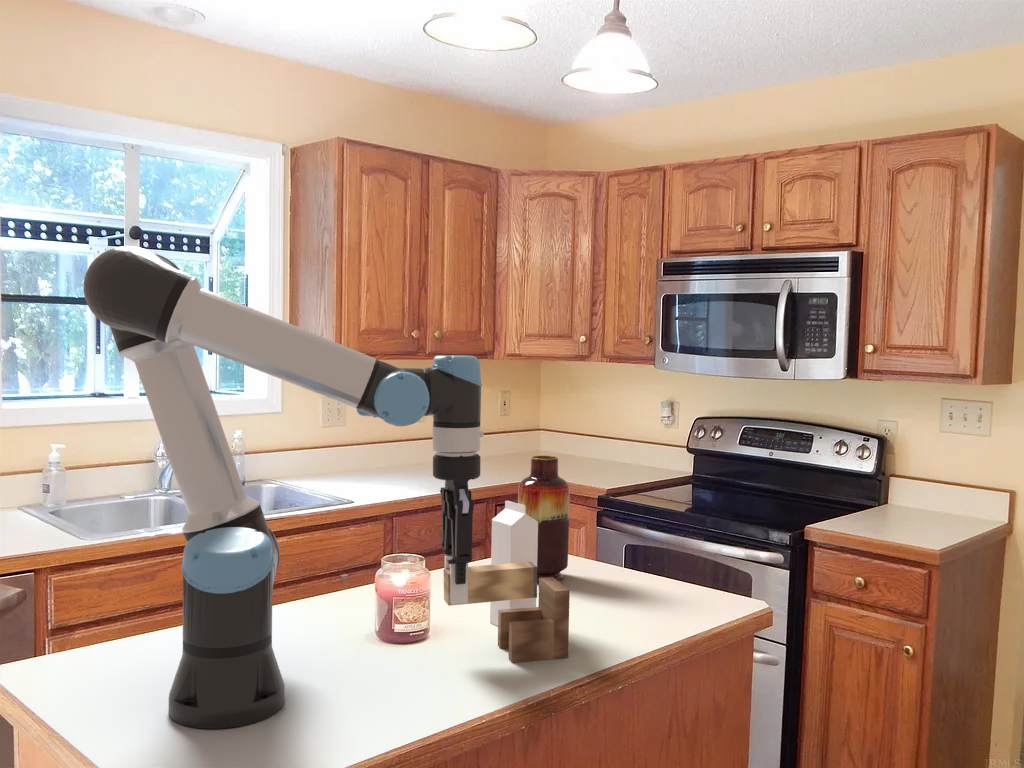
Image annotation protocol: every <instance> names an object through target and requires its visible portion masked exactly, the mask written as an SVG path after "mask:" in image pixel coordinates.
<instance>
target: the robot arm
mask: <svg viewBox="0 0 1024 768" xmlns="http://www.w3.org/2000/svg"><path fill="white" fill-rule="evenodd" d="M83 279H84V280H83V295H84V299H85V302H86V304H87V307H88V308H89V310H90V312H91V313H92V314H93V315H94V316H95V317H96V319H98V320H99V321H100V322H101V323H103V324H105V325H106V326H109V328H110V331H111V334H112V337H113V339H114V342H115V345H116V348H117V350H118V353H119V355H120V356H122V357H124V358H127V359H129V360H130V361H132V362H133V363H134V365H135V367H136V371H137V373H138V376H139V379H140V381H141V385H142V387H143V390H144V393H145V395H146V399H147V401H148V405H149V407H150V409H151V413H152V415H153V416H152V417H154V418H153V419H154V421H155V424H156V427H157V429H158V432H159V436H160V438H161V441H162V444H163V446H164V449H165V452H166V455H167V458H168V460H169V463H170V467H171V469H172V471H173V474H174V477H175V480H176V484H177V485H178V489H179V491H180V495H181V497H182V501H183V503H184V506H185V509H186V512H187V519H186V521H185V523H184V525H183V527H182V529H181V531H182V533H183V535H184V538H185V541H186V542H185V543H186V544H185V545H184V548H183V552H182V553H183V554H182V555H183V557H182V559H181V564H180V567H181V572H182V655H181V657H180V661H179V664H178V667H177V670H176V673H175V674H174V675H175V676H174V678H173V679H174V680H173V683H172V684H171V688H170V691H169V693H168V715H169V717H170V719H172V720H173V721H175V722H176V723H178V724H179V725H183V726H186V727H190V728H197V729H210V730H211V729H227V728H228V729H229V728H235V727H241V726H245V725H248V724H249V725H250V724H252V723H255V722H260V721H261V720H265V719H266V718H268V717H270V716H272V715H274V714H276V713H277V712H278V711H279V710H280V709H281V708H283V706H284V704H285V699H286V698H285V695H286V694H285V693H286V692H285V683H284V682H285V681H284V678H283V675H282V673H281V669H280V667H279V665H278V661H277V659H276V655H275V652H274V649H273V589H274V582H275V578H276V574H277V571H278V569H279V564H280V554H281V553H280V547H279V543H278V540H277V538H276V535H275V534H274V532H273V531H272V529H270V527H269V526H268V523H267V521H266V518H265V514H264V512H263V510H262V507H261V503H260V502H259V500H258V499H257V500H256V499H254V498H252V497H250V496H249V495H247V494H246V492H245V489H244V485H243V482H242V480H241V477H240V475H239V471H238V469H237V466H236V463H235V460H234V457H233V454H232V452H231V451H232V450H231V448H230V445H229V443H228V441H227V437H226V434H225V432H224V428H223V425H222V423H221V420H220V417H219V414H218V411H217V408H216V405H215V403H214V400H213V397H212V394H211V390H210V388H209V385H208V382H207V379H206V377H205V374H204V373H205V372H204V371H203V367H202V364H201V362H200V359H199V356H198V352H197V350H196V348H200V349H202V350H205V351H208V352H210V353H212V354H216V355H217V356H220V357H223V358H226V359H228V360H230V361H233V362H235V363H238V364H241V365H244V366H247V367H249V368H252V369H254V370H257V371H259V372H261V373H264V374H266V375H269V376H272V377H274V378H277V379H280V380H282V381H285V382H287V383H290V384H292V385H295V386H297V387H300V388H301V389H302V388H303V389H306V390H307V391H311V392H313V393H315V394H318V395H321V396H323V397H326V398H328V399H331V400H334V401H337V402H339V403H341V404H345V405H346V406H348V407H352V408H354V409H356V413H357V414H358V415H359V416H362V417H373V418H378V419H381V420H383V422H385V423H387V424H389V425H393V426H395V427H407V426H412V425H413V424H416V423H417V422H419V421H420V420H421V419H422V418H423V417H428V416H432V419H433V421H432V450H433V451H434V452H436V453H434V455H433V456H432V476H433V477H434V478H435V479H438V480H441V481H445V482H444V487H440V489H439V492H440V499H441V501H440V502H441V504H440V505H441V549H443V554H444V569H447V568H450V604H462V605H465V604H464V603H468V567H469V562H472V561H473V555H472V554H473V515H474V506H475V502H474V499H472V491H471V490H470V489H469V484H468V483H469V481H470V480H476V479H478V478H480V476H481V456H480V454H479V451H480V450H481V438H483V437H484V436H485V435H484V434H485V433H484V431H482V430H481V418H482V417H481V411H482V409H481V408H482V405H481V404H482V386H483V384H482V380H481V379H482V377H481V362H480V360H479V359H478V358H477V357H476V356H473V355H436V356H434V358H433V360H432V364H431V367H422V368H417V367H416V368H415V367H414V368H411V367H397V366H395V365H393V364H390V363H387V362H385V361H382V360H380V359H377V358H375V357H374V356H373V357H372V356H370V355H367V354H365V353H364V352H363V353H362V352H360V351H358V350H355V349H353V348H350V347H348V346H345V345H344V344H340V343H339V342H335V341H333V340H331V339H328V338H326V337H324V336H321V335H318V334H316V333H313V332H312V331H309V330H306V329H303V328H301V327H298V326H297V325H294V324H292V323H289V322H287V321H284V320H282V319H279V318H277V317H274V316H272V315H269V314H268V313H267V314H266V313H265V312H261V311H260V310H257V309H254V308H252V307H249V306H247V305H244V304H242V303H240V302H238V301H235V300H232V299H230V298H228V297H224V296H223V295H220V294H217V293H216V292H212V291H210V290H208V289H206V288H203V287H202V285H201V283H200V282H199V280H198V277H196V276H193V275H190V274H189V273H185V271H182V270H181V269H180V268H179V266H178V265H177V264H176V263H174V262H173V261H171V260H170V259H168V258H166V257H165V256H162V255H160V254H157V253H154V252H152V251H150V250H147V249H146V248H142V247H138V246H133V245H124V246H118V247H114V248H110V249H107V250H105V251H104V252H102V253H101V254H99V255H98V256H97V257H96V258H95V259H94V260H93V261H92V262H91V263H90V265H89V266H88V268H87V271H86V273H85V275H84V278H83Z"/></svg>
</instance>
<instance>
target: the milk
mask: <svg viewBox="0 0 1024 768" xmlns="http://www.w3.org/2000/svg"><path fill="white" fill-rule="evenodd" d="M537 548H538V521H536V520H535V519H533V518H531V517H530V516H528V515H526V507H525V505H522V504H518V502H514V501H510V500H505V501H504V508H503V510H501V511H500V512H499V513H497V514H496V516H495V517H493V518H492V519H491V548H490V549H491V550H490V551H491V554H490V565H496V564H508V563H520V562H532V563H533V564H534V565H535V566H536V567H537ZM489 605H490V606H489V607H490V608H489V609H490V610H489V611H490V612H489V623H490V624H491V625H494V626H495V627H498V610H503V609H517V608H532V607H537V598H526V599H515V600H505V601H494V602H489Z"/></svg>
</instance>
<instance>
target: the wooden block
mask: <svg viewBox="0 0 1024 768" xmlns="http://www.w3.org/2000/svg"><path fill="white" fill-rule="evenodd" d="M526 598H536V599H537V598H538V583H537V567H536V566H535V565H534V564H533V563H532V562H520V563H508V564H496V565H491V564H487V565H485V564H483V565H473V566H468V603H464V604H450V568H447V569H445V568H443V601H444V603H446V604H447V606H448V607H449V606H459V605H460V606H461V605H470V604H482V603H490V602H494V601H505V600H515V599H526Z"/></svg>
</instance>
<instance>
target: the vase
mask: <svg viewBox="0 0 1024 768" xmlns="http://www.w3.org/2000/svg"><path fill="white" fill-rule="evenodd" d="M570 493H571V492H570V484H569V483H568V482H567V480H566V479H564V478H562V477H560V476H559V457H558V456H554V455H533V456H531V459H530V474H529V475H528V476H526V477H525V478H522V480H521V481H520V482H519V484H518V488H517V503H518V504H522V505H525V507H526V515H528V516H530V517H531V518H533V519H535V520H536V521H538V548H537V582H539V578H544V577H554V578H555V579H556V580H557V581H559V580H561V579H562V578H564V575H563V574H562V572H563V571H564V570H566V569H567V568H568V564H569V561H568V560H569V539H570V538H569V537H570V535H569V533H570V532H569V531H570ZM562 580H563V579H562ZM562 580H561V581H562ZM559 582H560V581H559Z"/></svg>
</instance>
